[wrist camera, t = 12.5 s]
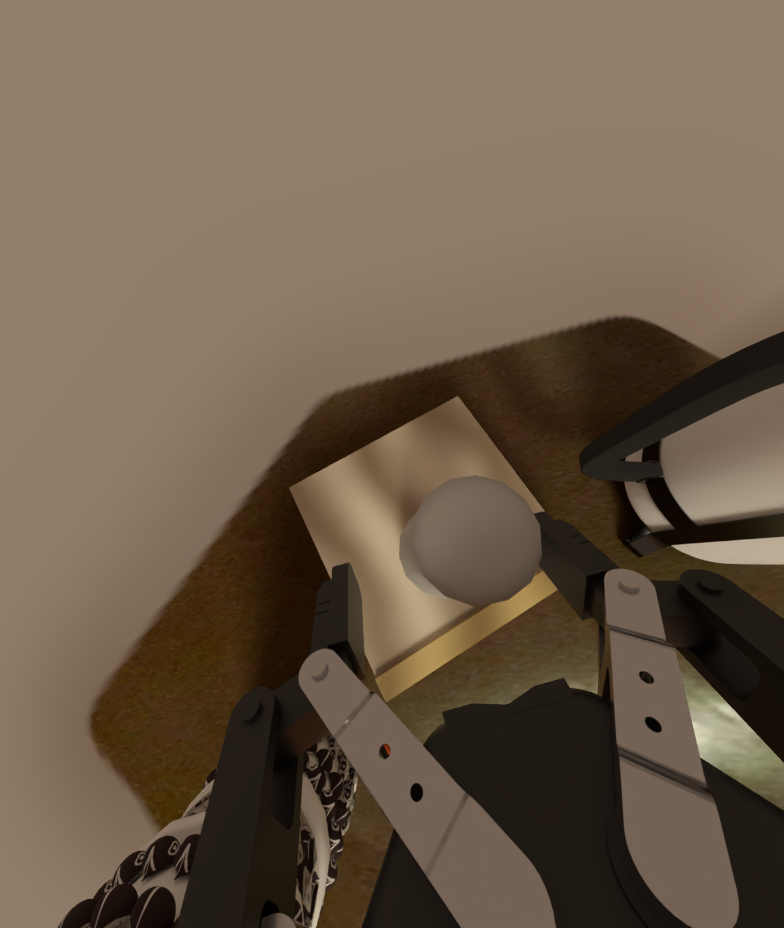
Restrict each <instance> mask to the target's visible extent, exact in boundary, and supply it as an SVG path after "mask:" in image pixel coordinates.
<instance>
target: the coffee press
mask: <svg viewBox="0 0 784 928" xmlns="http://www.w3.org/2000/svg"><path fill="white" fill-rule="evenodd" d="M625 457H626V459H625V461H619V460H621V459H623V458H625ZM579 461H580V468H581V472H582V474H584V475H585V476H587V477H590V478H594V479H600V480H610V481H624V483H625V488H626V492H627V495H628V498H629V501H630V503H631V505H632V507H633V509H634V510H635V512H636V513H637V515H638V516H639V518H640V519H641V520H642V521H643V523H644V524H645V525H644V526H643V527H642V528H640V529H639V530H637V531H636V532H634V533H632V534H631V535H629V536H628V537H627V538H625V540H624V541H623V545H624V546H626V547H627V548H628V549H629V550H630V551H631V552H632V553H634V554H635V555H636V556H637V557H642V556H645V555H647V554H649V553H652V552H654V551H656V550H658V549H661V548H664V547H667V546H672V547H674V548H676V549H677V550H679V551H681V552H683V553H686V554H688V555H690V556H693V557H696V558H699V559H702V560H706V561H711V562H717V563H726V564H784V331H783V332H781V333H778V334H776V335H773V336H771V337H769V338H766V339H764V340H762V341H759V342H757V343H755V344H753V345H751V346H748V347H746V348H744V349H742V350H740V351H738V352H736V353H734V354H732V355H730V356H728V357H726V358H724V359H722V360H720V361H718V362H716V363H714V364H712V365H711V366H709V367H707V368H705V369H703V370H701V371H700V372H698V373H696V374H695V375H693V376H691V377H690V378H688V379H686V380H685V381H683V382H682V383H680V384H678V385H677V386H675V387H674V388H672V389H671V390H669V391H667V392H666V393H664V394H663V395H661V396H660V397H658V398H657V399H655V400H654V401H652V402H651V403H649V404H648V405H646V406H645V407H643V408H642V409H640V410H639V411H637V412H636V413H634V414H633V415H631V416H630V417H628V418H627V419H625V420H624V421H622V422H621V423H619V424H618V425H616V426H615V427H613V428H612V429H610V430H609V431H607V432H606V433H605V434H603V435H602V436H600V437H599V438H597V439H596V440H595V441H593V442H592V443H591V444H589V445H588V446H587V447H586V448H584V449H583V451H582V452H581V453H580V455H579Z"/></svg>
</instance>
